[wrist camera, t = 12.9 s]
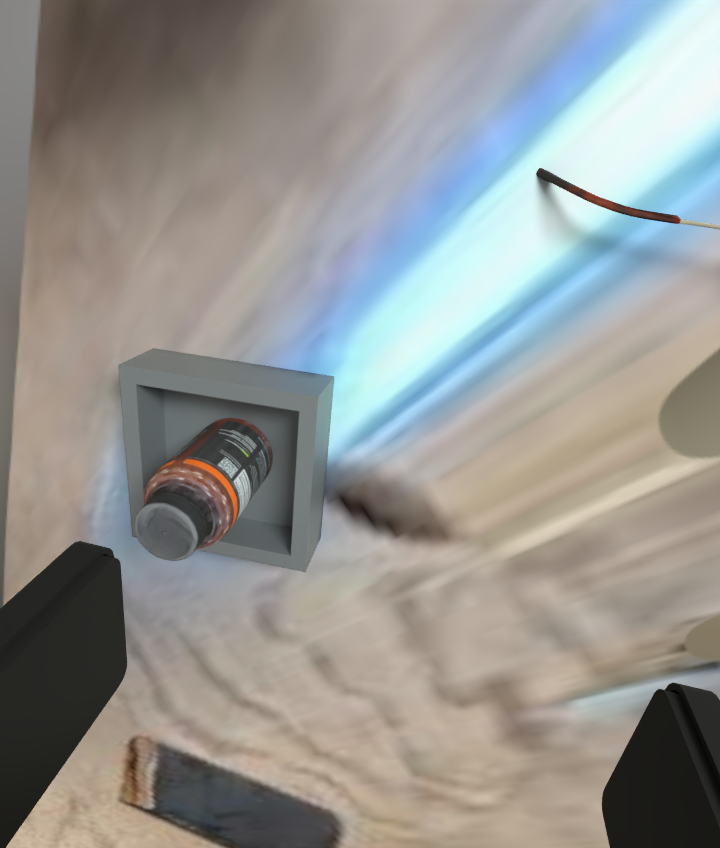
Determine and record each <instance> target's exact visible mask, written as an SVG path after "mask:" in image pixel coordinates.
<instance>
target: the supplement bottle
mask: <svg viewBox="0 0 720 848" xmlns="http://www.w3.org/2000/svg"><path fill="white" fill-rule="evenodd" d="M272 462H273V454H272V449H271V446H270V443H269V441H268V440H267V438H266V437H265V435H264V434H263V433H262V431H260V430H259V429H258V428H257V427H256V426H254V425H253V424H251V423H249V422H247V421H245V420H241V419H237V418H224V419H219V420H217V421H215V422H213V423H211V424H210V425H209V426H207V427H206V428H205V429H204V430H202V431H201V432H200V433H199V434H198V435H197V436H196V437H195V438H194V439H192V440H191V441H190V442H189V443H188V444H187V445H185V446H184V447H183V448H182V449H181V450H180V451H179V452H178V453H176V454H175V455H174V456H173V457H172V458H171V459H170V460H169V461H167V462H166V463H165V464H164V465H163V466H162V467H161V468H160V469H159V470H158V471H157V472H156V473H155V474H154V475H153V476H152V477H151V478H150V480H149V482H148V483H147V485H146V488H145V492H144V503H143V504H144V506H143V507H142V508H141V509H140V510H139V511H138V513H137V515H136V517H135V522H134V527H135V532H136V536H137V537H138V540H139V541H140V543H141V544H142V545H143V547H144V548H145V549H146V550H148V551H149V552H150V553H151V554H153V555H155V556H156V557H159V558H162V559H165V560H170V561H177V560H183V559H185V558H187V557H189V556H190V555H192V553H193V552H194V551H195V550H196V549H197V548H205V547H208V546H210V545H213V544H215V543H217V542H218V541H219V540H221V539H222V538H223V537H224V536H225V535H226V534H227V533H228V531H229V530H230V528H231V527H232V526H233V524H234V523H235V522H236V520H237V519H238V517H239V516H240V514H241V513H242V512H243V510H244V509H245V507H246V506H247V505H248V503H249V502H250V500H251V499H252V497H253V496H254V495H255V493H256V492H257V490H258V489H259V488H260V486H261V485H262V483H263V482H264V480H265V479H266V477H267V476H268V474H269V472H270V470H271V467H272Z"/></svg>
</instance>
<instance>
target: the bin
mask: <svg viewBox="0 0 720 848" xmlns="http://www.w3.org/2000/svg"><path fill="white" fill-rule="evenodd" d="M118 366H119V378H120V390H121V402H122V415H123V427H124V439H125V451H126V464H127V476H128V488H129V500H130V513H131V525H132V536H133V537H137V536H136V532H135V527H134V522H135V517H136V515H137V513H138V511H139V510H140V509H141V508H142V507H143V506H144V504H143V503H144V492H145V488H146V485H147V483H148V482H149V480H150V478H151V477H152V476H153V475H154V474H155V473H156V472H157V471H158V470H159V469H160V468H161V467H162V466H163V465H164V464H165V463H166V462H167V461H169V460H170V459H171V458H172V457H173V456H174V455H175V454H176V453H178V452H179V451H180V450H181V449H182V448H183V447H184V446H185V445H187V444H188V443H189V442H190V441H191V440H192V439H194V438H195V437H196V436H197V435H198V434H199V433H200V432H201V431H202V430H204V429H205V428H206V427H207V426H209V425H210V424H211V423H213V422H215V421H217V420H219V419H224V418H237V419H241V420H245V421H247V422H249V423H251V424H253V425H254V426H256V427H257V428H258V429H259V430H260V431H262V433H263V434H264V435H265V437H266V438H267V440H268V441H269V443H270V446H271V449H272V454H273V462H272V467H271V470H270V472H269V474H268V476H267V477H266V479H265V480H264V482H263V483H262V485H261V486H260V488H259V489H258V490H257V492H256V493H255V495H254V496H253V497H252V499H251V500H250V502H249V503H248V505H247V506H246V507H245V509H244V510H243V512H242V513H241V514H240V516H239V517H238V519H237V520H236V522H235V523H234V524H233V526H232V527H231V528H230V530H229V531H228V533H227V534H226V535H225V536H224V537H223V538H222V539H221V540H219V541H218V542H217V543H215V544H213V545H210V546H208V547H205V548H197V549H196V550H201V551H206V552H211V553H216V554H220V555H225V556H230V557H235V558H240V559H245V560H249V561H254V562H259V563H264V564H269V565H274V566H279V567H283V568H288V569H293V570H298V571H303V572H306V569H307V567H308V565H309V563H310V560H311V558H312V556H313V554H314V551H315V549H316V547H317V545H318V542H319V540H320V538H321V526H322V514H323V502H324V490H325V479H326V467H327V455H328V443H329V431H330V419H331V408H332V396H333V384H334V377H333V376H327V375H320V374H314V373H307V372H301V371H295V370H288V369H282V368H275V367H269V366H262V365H256V364H250V363H243V362H237V361H230V360H224V359H218V358H211V357H205V356H198V355H192V354H185V353H179V352H173V351H166V350H160V349H152V350H150V351H147V352H145V353H143V354H141V355H139V356H137V357H134V358H132V359H130V360H128V361H126V362H124V363H121V364H119V365H118Z"/></svg>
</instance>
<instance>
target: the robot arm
mask: <svg viewBox="0 0 720 848" xmlns="http://www.w3.org/2000/svg"><path fill="white" fill-rule="evenodd" d="M126 668H127V654H126V640H125V625H124V610H123V595H122V580H121V565H120V561H119V560H118V559H116V558H114V555H113V551H112V550H111V549H110V548H106V547H102V546H98V545H94V544H89V543H85V542H81V541H79V542H75V543H74V544H72V545H71V546H70V547H69V548H68V549H66V550H65V551H64V552H63V553H62V554H61V555H60V556H59V557H57V558H56V559H55V560H54V561H53V562H52V563H51V564H50V565H49V566H47V567H46V568H45V569H44V570H43V571H42V572H41V573H40V574H39V575H37V576H36V577H35V578H34V579H33V580H32V581H31V582H30V583H28V584H27V585H26V586H25V587H24V588H23V589H22V590H21V591H20V592H18V593H17V594H16V595H15V596H14V597H13V598H12V599H11V600H10V601H8V602H7V603H6V604H5V605H4V606H3V607H2V608H1V609H0V848H6V846H7V845H8V843H9V842H10V841H11V839H12V838H13V836H14V835H15V833H16V832H17V831H18V829H19V828H20V826H21V825H22V824H23V822H24V821H25V819H26V818H27V816H28V815H29V814H30V812H31V811H32V809H33V808H34V806H35V805H36V804H37V802H38V801H39V799H40V798H41V796H42V795H43V794H44V792H45V791H46V789H47V788H48V786H49V785H50V784H51V782H52V781H53V779H54V778H55V776H56V775H57V774H58V772H59V771H60V769H61V768H62V767H63V765H64V764H65V762H66V761H67V759H68V758H69V757H70V755H71V754H72V752H73V751H74V749H75V748H76V747H77V745H78V744H79V742H80V741H81V739H82V738H83V737H84V735H85V734H86V732H87V731H88V729H89V728H90V727H91V725H92V724H93V722H94V721H95V720H96V718H97V717H98V715H99V714H100V712H101V711H102V710H103V708H104V707H105V705H106V704H107V702H108V701H109V700H110V698H111V697H112V695H113V694H114V692H115V691H116V690H117V688H118V687H119V685H120V684H121V682H122V680H123V678H124V675H125V672H126ZM602 811H603V817H604V822H605V827H606V831H607V836H608V840H609V845H610V848H720V700H719V699H718V697H717V696H716V695H715V694H714V693H713V692H711V691H707V690H702V689H698V688H694V687H690V686H686V685H681V684H677V683H671V684H669V685H668V686H667V688H666V689H665V690H662V689H658V690H657V691H656V692H655V693H654V695H653V697H652V699H651V701H650V703H649V704H648V706H647V708H646V710H645V712H644V714H643V716H642V718H641V720H640V722H639V724H638V725H637V727H636V729H635V731H634V733H633V735H632V737H631V739H630V741H629V743H628V745H627V746H626V748H625V750H624V752H623V754H622V756H621V758H620V760H619V762H618V764H617V766H616V767H615V769H614V771H613V773H612V775H611V777H610V779H609V781H608V783H607V785H606V787H605V789H604V792H603V797H602Z"/></svg>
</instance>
